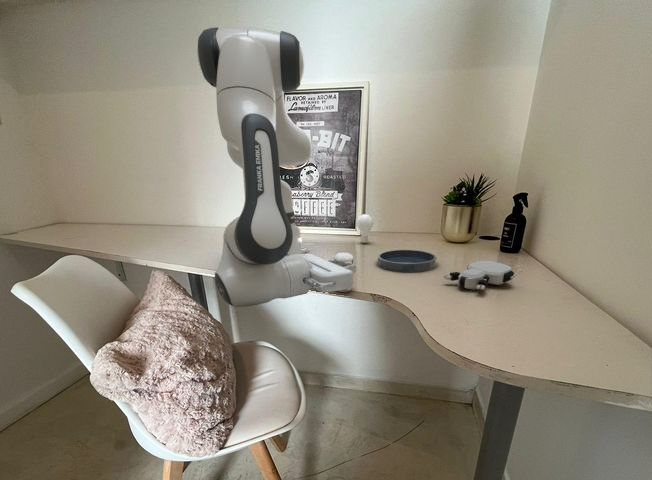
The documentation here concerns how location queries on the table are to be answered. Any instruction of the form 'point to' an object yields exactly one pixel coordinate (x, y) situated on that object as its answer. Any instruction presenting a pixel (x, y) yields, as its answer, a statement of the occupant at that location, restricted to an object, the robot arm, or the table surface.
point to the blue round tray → (407, 260)
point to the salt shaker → (343, 262)
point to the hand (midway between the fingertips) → (347, 265)
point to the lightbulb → (364, 226)
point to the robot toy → (482, 275)
